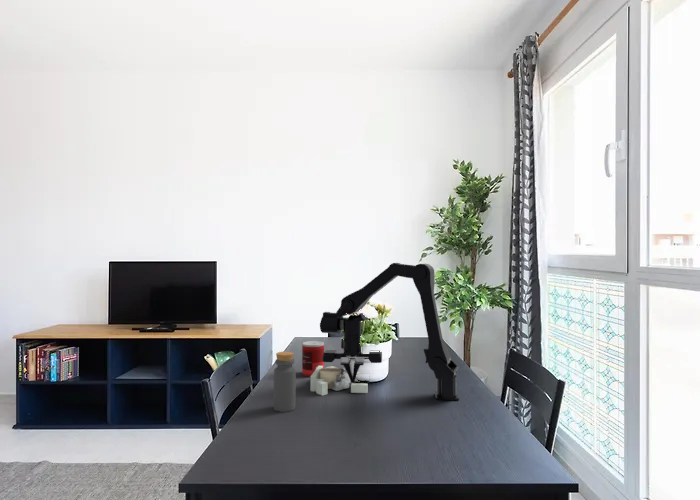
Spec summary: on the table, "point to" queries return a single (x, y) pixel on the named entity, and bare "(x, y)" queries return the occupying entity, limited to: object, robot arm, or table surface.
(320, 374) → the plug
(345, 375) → the plunger
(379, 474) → the table surface
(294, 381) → the bottle
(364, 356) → the robot arm
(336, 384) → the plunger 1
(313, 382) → the dock
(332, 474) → the table surface
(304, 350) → the canned food
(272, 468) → the table surface
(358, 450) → the table surface
